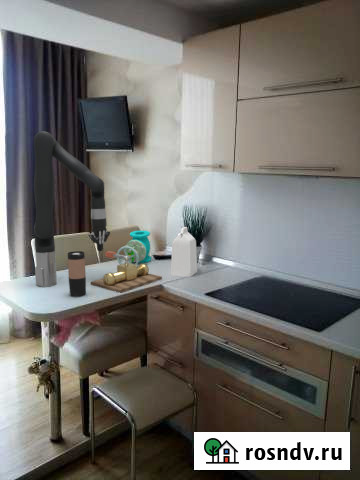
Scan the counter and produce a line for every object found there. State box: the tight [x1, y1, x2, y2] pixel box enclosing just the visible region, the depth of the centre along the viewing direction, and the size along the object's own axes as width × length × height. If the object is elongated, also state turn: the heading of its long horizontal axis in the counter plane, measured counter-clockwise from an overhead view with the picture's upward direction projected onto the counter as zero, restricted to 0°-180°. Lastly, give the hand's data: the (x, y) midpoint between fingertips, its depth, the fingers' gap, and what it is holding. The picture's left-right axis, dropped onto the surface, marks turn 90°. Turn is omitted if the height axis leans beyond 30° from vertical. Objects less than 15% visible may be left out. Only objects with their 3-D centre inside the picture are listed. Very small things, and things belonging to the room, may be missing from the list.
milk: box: [170, 226, 198, 278], centre depth 217 cm, size 12×12×26 cm
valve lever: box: [105, 250, 130, 260], centre depth 204 cm, size 3×16×3 cm, turn 52°
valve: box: [116, 230, 152, 267], centre depth 239 cm, size 14×18×30 cm
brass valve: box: [102, 259, 149, 286], centre depth 201 cm, size 28×7×11 cm, turn 142°
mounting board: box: [90, 273, 163, 294], centre depth 202 cm, size 30×22×2 cm
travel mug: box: [67, 250, 87, 298], centre depth 180 cm, size 8×8×20 cm
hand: (100, 250), depth 201 cm, fingers closed
